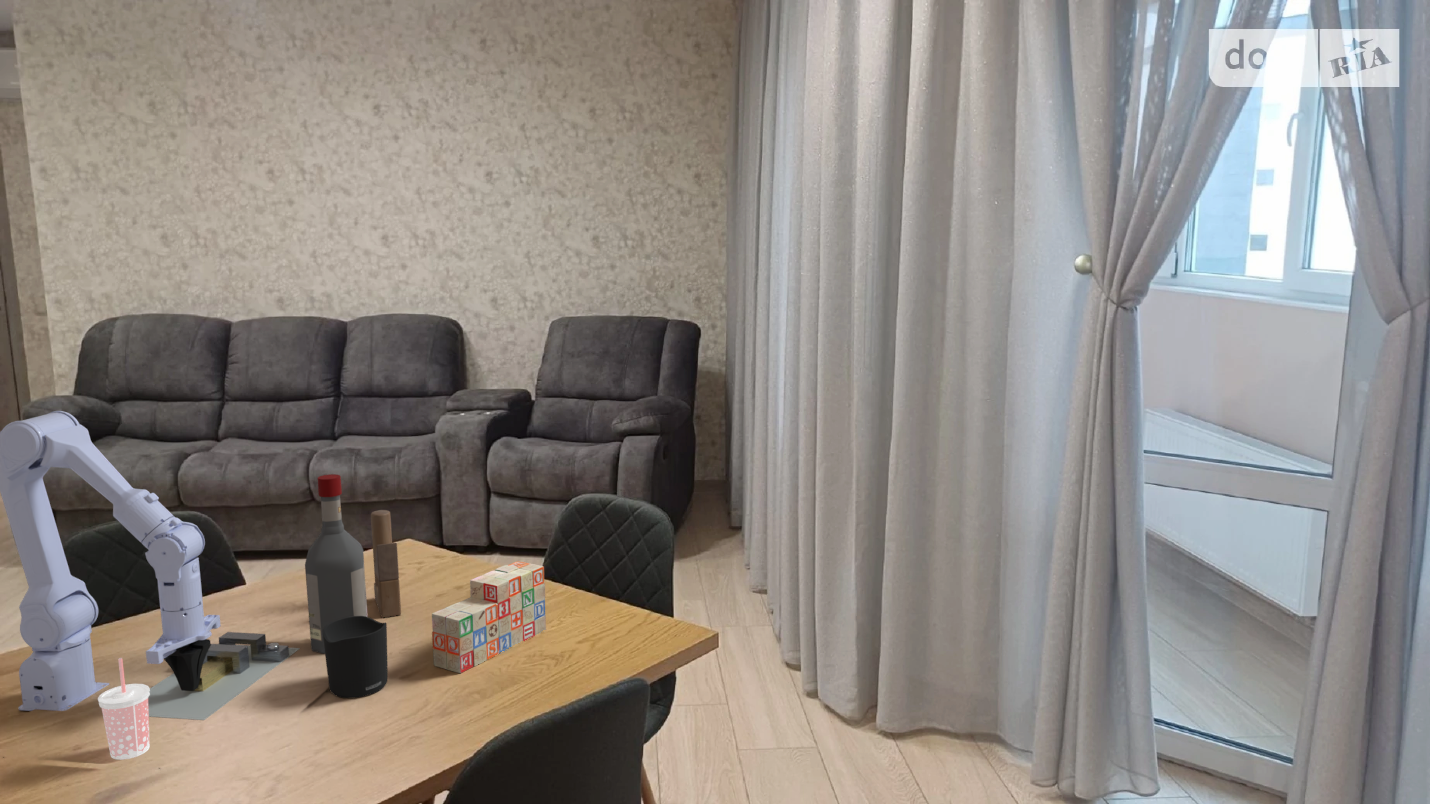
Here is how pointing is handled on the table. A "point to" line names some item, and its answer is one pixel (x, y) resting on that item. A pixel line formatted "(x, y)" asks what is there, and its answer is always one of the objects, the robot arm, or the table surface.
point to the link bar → (214, 671)
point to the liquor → (333, 567)
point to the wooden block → (385, 565)
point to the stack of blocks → (490, 617)
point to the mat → (204, 692)
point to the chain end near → (230, 655)
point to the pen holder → (356, 656)
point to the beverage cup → (126, 718)
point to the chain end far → (257, 646)
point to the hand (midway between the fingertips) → (189, 689)
